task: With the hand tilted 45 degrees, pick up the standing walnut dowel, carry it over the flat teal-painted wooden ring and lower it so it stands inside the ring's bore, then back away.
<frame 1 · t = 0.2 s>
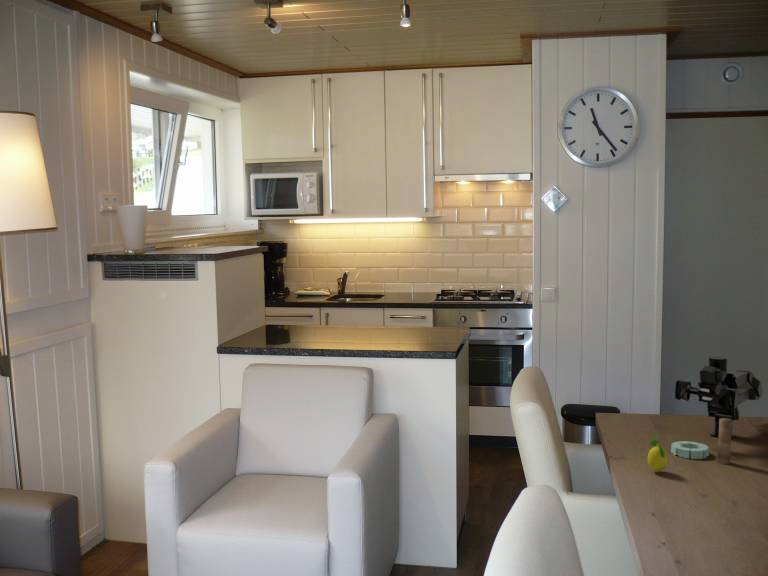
hand: (695, 399, 256), 16 cm above the table, tool horizontal, fingers open, 9 cm apart
lemon: (656, 472, 237), on the table
ring: (689, 453, 255), on the table
dowel: (723, 462, 246), on the table
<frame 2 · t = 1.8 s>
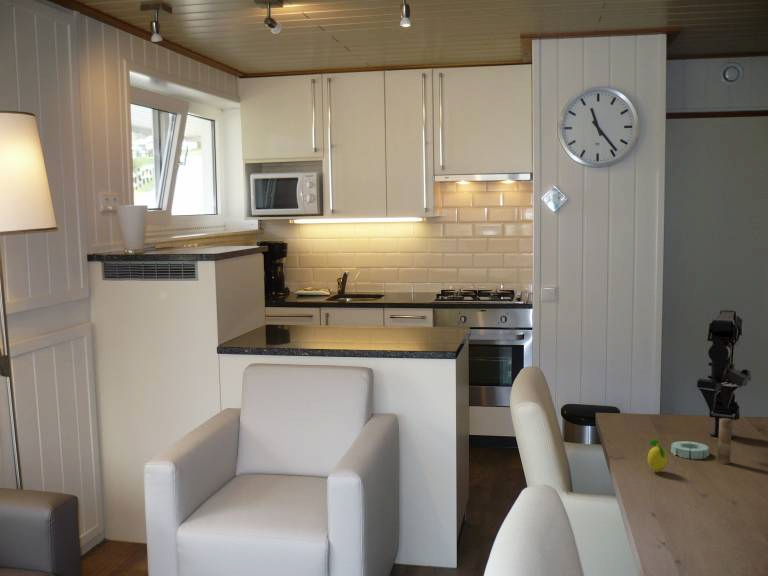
hand: (719, 409, 260), 12 cm above the table, tool pointing down, fingers open, 9 cm apart
nothing on the table moved.
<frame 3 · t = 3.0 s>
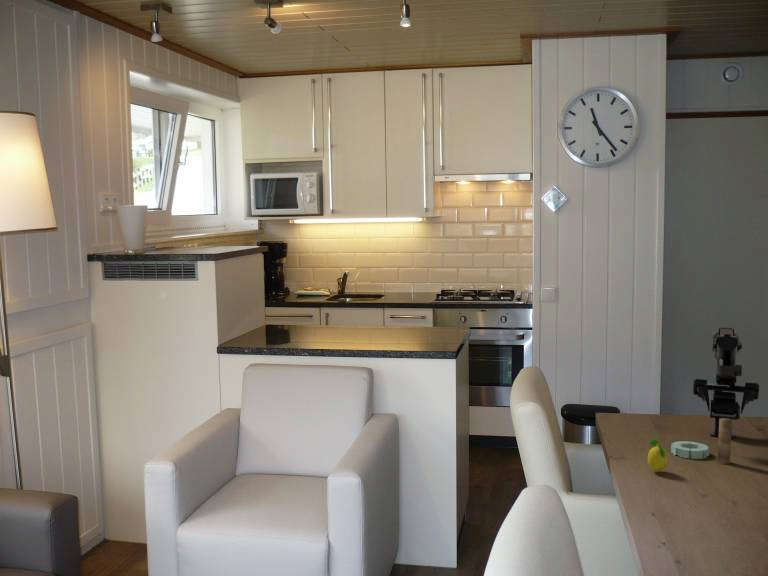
hand: (725, 412, 252), 13 cm above the table, tool tilted 45°, fingers open, 9 cm apart
nothing on the table moved.
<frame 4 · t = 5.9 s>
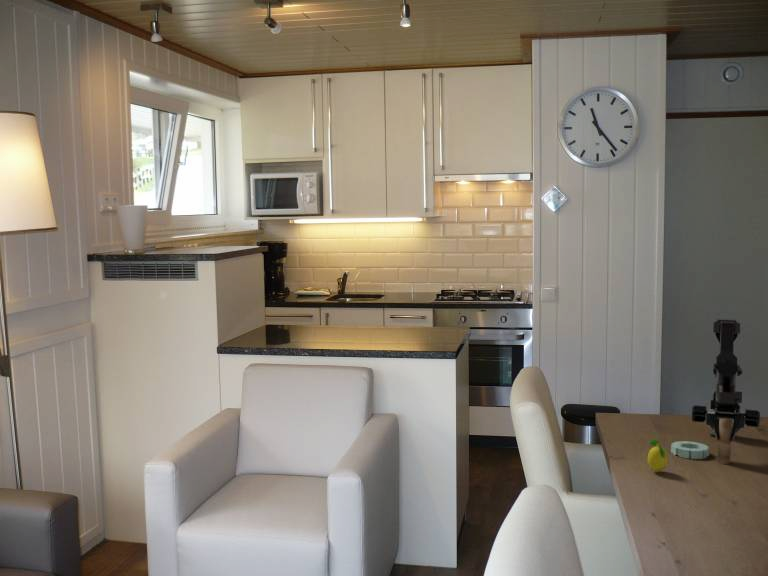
hand: (724, 440, 244), 7 cm above the table, tool tilted 45°, fingers closed on dowel, 3 cm apart
dowel: (723, 462, 246), on the table, touching gripper
everything else where it was.
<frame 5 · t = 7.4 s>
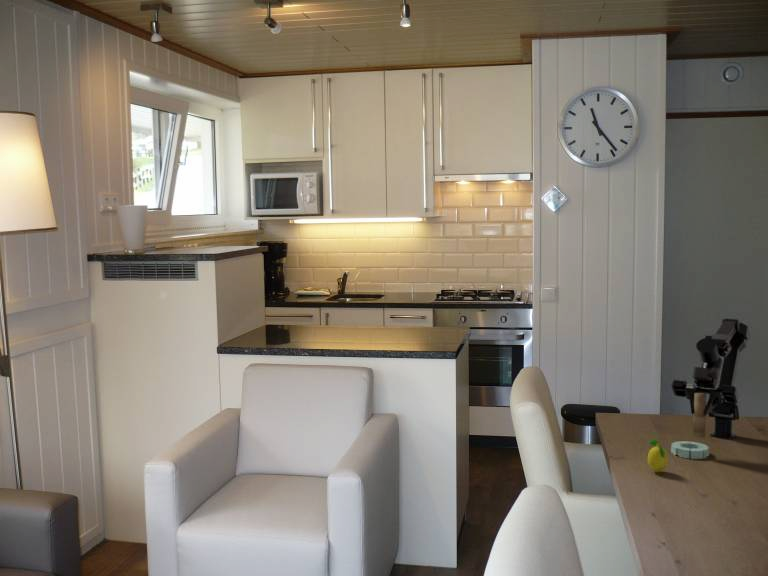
hand: (698, 414, 250), 13 cm above the table, tool tilted 45°, fingers closed on dowel, 3 cm apart
dowel: (699, 436, 252), point 6 cm above the table, touching gripper
everything else where it was.
when the fingers open (8 cm above the table, at t = 9.1 s): dowel drops 1 cm, resting in ring.
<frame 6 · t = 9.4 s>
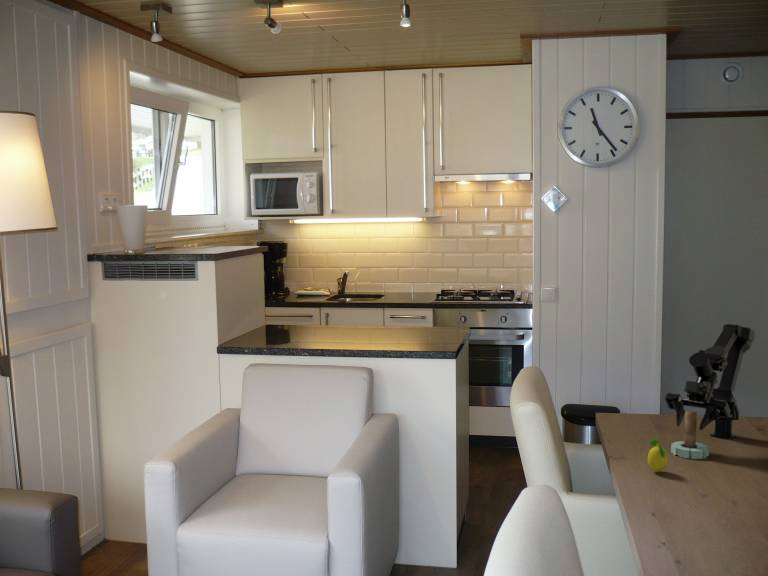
hand: (688, 427, 253), 9 cm above the table, tool tilted 45°, fingers open, 7 cm apart
dowel: (689, 453, 255), resting in ring
everything else where it was.
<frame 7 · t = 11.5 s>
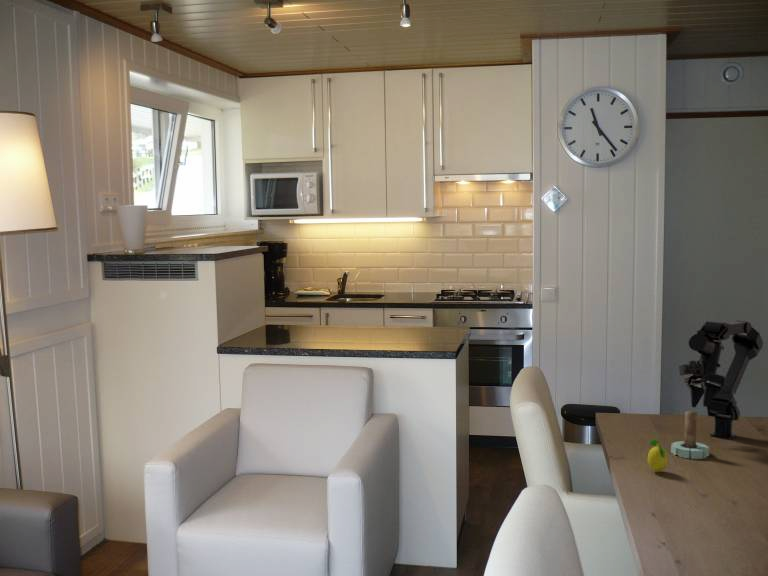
hand: (699, 406, 263), 13 cm above the table, tool tilted 20°, fingers open, 9 cm apart
nothing on the table moved.
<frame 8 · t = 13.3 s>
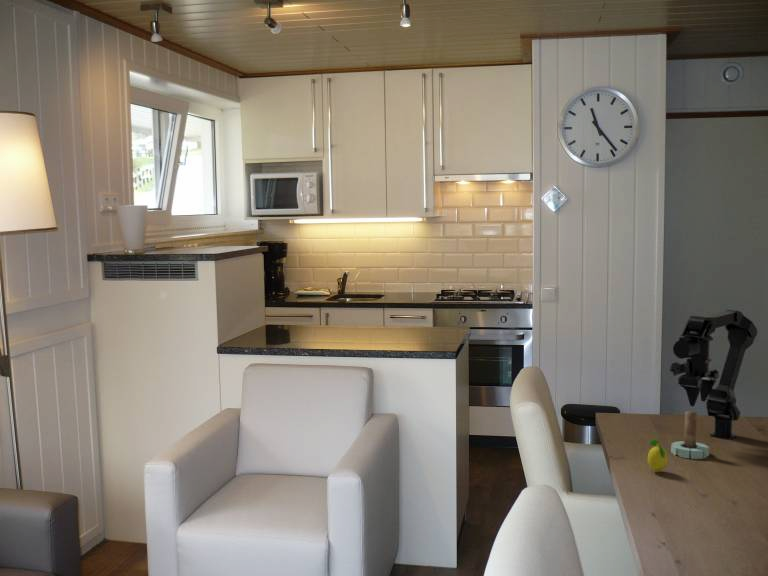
hand: (697, 403, 266), 13 cm above the table, tool pointing down, fingers open, 9 cm apart
nothing on the table moved.
at the end: dowel 0.0 cm from the ring (horizontally); dowel resting in ring; dowel tilted 0° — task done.
